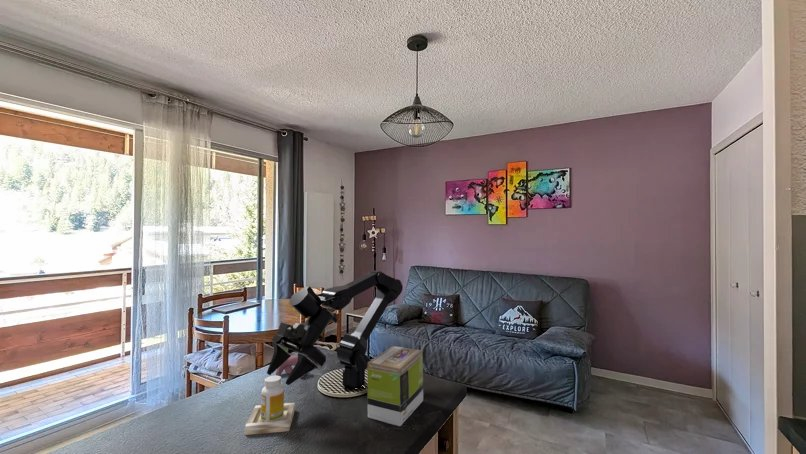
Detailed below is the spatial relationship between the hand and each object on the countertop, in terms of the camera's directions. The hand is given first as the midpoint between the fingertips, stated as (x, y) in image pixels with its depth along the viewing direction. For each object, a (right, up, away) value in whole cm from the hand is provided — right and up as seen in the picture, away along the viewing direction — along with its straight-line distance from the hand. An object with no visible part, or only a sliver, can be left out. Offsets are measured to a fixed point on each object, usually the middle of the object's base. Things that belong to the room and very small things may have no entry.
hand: (277, 379), depth 86 cm
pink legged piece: (-5, -11, +28) cm, 31 cm away
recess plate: (-1, -10, -1) cm, 10 cm away
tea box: (+31, -11, +5) cm, 33 cm away
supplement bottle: (-1, -9, -1) cm, 9 cm away
